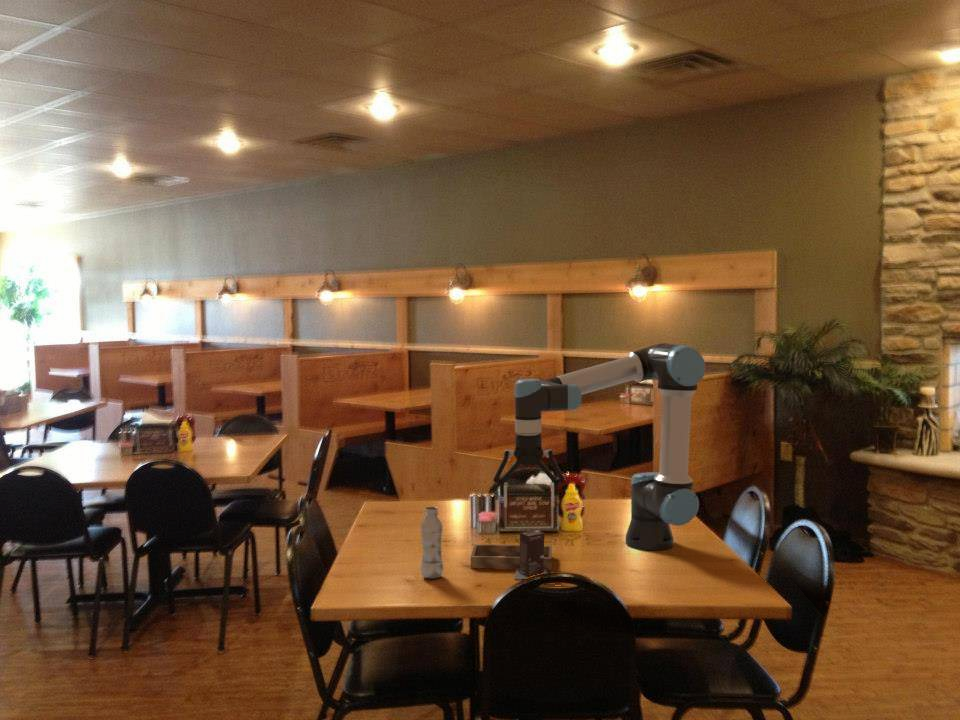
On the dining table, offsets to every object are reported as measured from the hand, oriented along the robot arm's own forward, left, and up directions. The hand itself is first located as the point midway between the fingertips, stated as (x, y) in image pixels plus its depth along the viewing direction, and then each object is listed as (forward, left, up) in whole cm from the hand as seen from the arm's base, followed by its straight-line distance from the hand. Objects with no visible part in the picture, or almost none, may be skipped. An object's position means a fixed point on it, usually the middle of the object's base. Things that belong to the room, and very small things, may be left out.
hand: (529, 506), depth 250 cm
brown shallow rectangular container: (+5, -8, -19) cm, 22 cm away
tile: (-1, +3, -19) cm, 20 cm away
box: (-1, +3, -19) cm, 19 cm away
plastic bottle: (+27, +7, -20) cm, 34 cm away
